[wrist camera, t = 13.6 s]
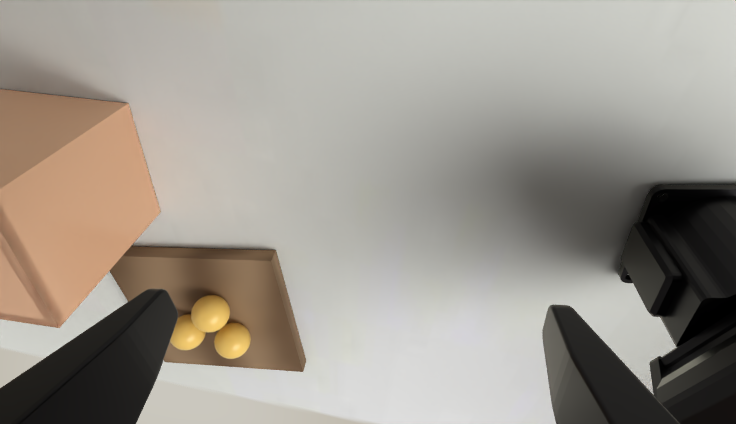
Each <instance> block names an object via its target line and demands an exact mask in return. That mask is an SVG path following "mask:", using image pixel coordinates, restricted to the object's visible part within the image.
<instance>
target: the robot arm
mask: <svg viewBox="0 0 736 424" xmlns="http://www.w3.org/2000/svg"><path fill="white" fill-rule="evenodd" d="M662 193H664V195H662V196H661V197H657V196H658V195H660V194H662ZM621 260H622V263H621V266H620V269H619V271H618V275H619V277H620V279H621V280H622V281H623V282H625V283H634V285H635V287H636V289H637V291H638V293H639V295H640V297H641V299H642V301H643V303H644V305H645V307H646V308H647V310H648V312H649V313H650V314H651V315H652V316H655V317H660V318H661V319H662V321H663V323H664V325H665V327H666V329H667V330H668V332H669V334H670V336H671V338H672V340H673V342H674V343H675V345H676V347H677V348H675V349H674V350H672V351H670V352H669V353H667V354H666V355H664V356H663V357H661V356H659V357H657V358H656V359H654V360H652V361H651V362H650V370H651V378H652V385H653V393H654V395H653V394H652V393H651V392H650V391H649V390H648V389H647V388H646V387H645V386H644V384H643V383H642V382H641V381H640V380H639V379H638V378H637V377H636V376H635V375H634V374H633V373H632V372H631V370H630V369H629V368H628V367H627V366H626V365H625V364H624V363H623V362H622V361H621V360H620V359H619V358H618V356H617V355H616V354H615V353H614V352H613V351H612V350H611V349H610V348H609V347H608V346H607V345H606V344H605V342H604V341H603V340H602V339H601V338H600V337H599V336H598V335H597V334H596V333H595V332H594V331H593V330H592V328H591V327H590V326H589V325H588V324H587V323H586V322H585V321H584V320H583V319H582V318H581V317H580V316H579V314H578V313H577V312H576V311H575V310H574V309H573V308H572V307H570V306H567V305H551V306H550V307H549V308H548V311H547V315H546V319H545V323H544V326H543V345H544V352H545V359H546V366H547V373H548V380H549V388H550V395H551V401H552V407H553V412H554V416H555V420H556V424H736V185H657V186H655V187H653V188H652V189H651V190H650V191H649V192H648V195H647V197H646V200H645V203H644V205H643V208H642V211H641V213H640V216H639V218H638V221H637V222H636V223H635V224H634V225H633V227H632V230H631V232H630V235H629V238H628V240H627V243H626V246H625V248H624V251H623V254H622V256H621ZM628 274H629V275H628ZM177 319H178V311H177V309H176V307H175V305H174V303H173V301H172V299H171V297H170V295H169V293H168V292H167V291H166V290H165V289H155V288H151V289H147V290H145V291H144V292H142V293H141V294H139V295H138V296H136V297H135V298H133V299H132V300H130V301H129V302H127V303H126V304H124V305H123V306H121V307H120V308H119V309H117V310H116V311H114V312H113V313H111V314H110V315H108V316H107V317H105V318H104V319H102V320H101V321H99V322H98V323H96V324H95V325H93V326H92V327H90V328H89V329H87V330H86V331H85V332H83V333H82V334H80V335H79V336H77V337H76V338H74V339H73V340H71V341H70V342H68V343H67V344H65V345H64V346H62V347H61V348H59V349H58V350H56V351H55V352H53V353H52V354H50V355H49V356H47V357H46V358H45V359H43V360H42V361H40V362H39V363H37V364H36V365H34V366H33V367H32V368H30V369H29V370H27V371H25V372H24V373H22V374H21V375H19V376H18V377H16V378H15V379H13V380H12V381H11V382H9V383H8V384H6V385H5V386H3V387H2V388H0V424H136V422H137V420H138V418H139V416H140V414H141V411H142V409H143V407H144V405H145V403H146V401H147V399H148V396H149V394H150V392H151V390H152V388H153V385H154V383H155V381H156V379H157V376H158V374H159V371H160V368H161V366H162V363H163V360H164V357H165V354H166V351H167V348H168V346H169V343H170V340H171V337H172V334H173V331H174V328H175V325H176V323H177Z"/></svg>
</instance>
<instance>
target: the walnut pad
mask: <svg viewBox="0 0 736 424" xmlns="http://www.w3.org/2000/svg"><path fill="white" fill-rule="evenodd" d="M110 272H111V274H112V276H113V277H114V279H115V280H116V282H117V284H118V285H119V287H120V289H121V290H122V292H123V294H124V295H125V297H126V299H127V300H128V302H129V301H130V300H132V299H133V298H135V297H136V296H138V295H139V294H141V293H142V292H144V291H145V290H147V289H151V288H155V289H165V290H166V291H167V292H168V293H169V295H170V297H171V299H172V301H173V303H174V305H175V307H176V309H177V311H178V318H179V317H180V316H183V315H188V314H191V311H192V308H193V306H194V304H195V303H196V302H197V301H198V300H199V299H200V298H202V297H204V296H207V295H217V296H220V297H222V298H223V299H224V300H225V301H226V302H227V303H228V305H229V308H230V316H229V319H228V321H227V323H226V324H229V323H239V324H242V325H243V326H245V327H246V328H247V329H248V331H249V333H250V338H251V341H250V345H249V348H248V349H247V351H246V352H245V353H244V354H243V355H242V356H240V357H238V358H234V359H227V358H224V357H222V356H221V355H220V354H218V352H217V351H216V349H215V345H214V340H215V336H216V334H217V332H218V331H219V330H217V331H215V332H206V334H205V338H204V340H203V341H202V342H201V344H200V345H198V346H197V347H195V348H193V349H191V350H180V349H177V348H176V347H174V346H173V345H172V344H171V342H170V343H169V346H168V348H167V351H166V354H165V357H164V361H165V362H173V363H187V364H201V365H215V366H229V367H243V368H257V369H271V370H285V371H300V372H303V370H304V367H305V363H306V358H305V355H304V351H303V347H302V344H301V340H300V336H299V333H298V329H297V326H296V322H295V318H294V315H293V311H292V307H291V304H290V300H289V296H288V293H287V289H286V285H285V282H284V278H283V275H282V271H281V267H280V264H279V260H278V256H277V253H276V250H244V249H207V248H170V247H133V246H131V247H130V248H129V249H128V250H127V251H126V252H125V253H124V255H123V256H122V257H121V258H120V259H119V260H118V261H117V263H116V264H115V265H114V266H113V267H112V268H111V269H110ZM226 324H225V325H226Z"/></svg>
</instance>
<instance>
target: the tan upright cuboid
mask: <svg viewBox="0 0 736 424" xmlns="http://www.w3.org/2000/svg"><path fill="white" fill-rule="evenodd" d="M160 212H161V211H160V208H159V205H158V201H157V198H156V194H155V191H154V188H153V184H152V181H151V178H150V174H149V171H148V168H147V164H146V161H145V158H144V154H143V151H142V148H141V144H140V141H139V137H138V134H137V131H136V127H135V124H134V121H133V117H132V114H131V111H130V107H129V104H128V103H119V102H111V101H102V100H93V99H84V98H75V97H66V96H57V95H48V94H40V93H31V92H22V91H13V90H4V89H0V319H3V320H10V321H16V322H23V323H30V324H36V325H43V326H50V327H56V328H60V327H61V325H62V324H63V323H64V322H65V321H66V320H67V319H68V317H69V316H70V315H71V314H72V313H73V312H74V311H75V309H76V308H77V307H78V306H79V305H80V304H81V303H82V301H83V300H84V299H85V298H86V297H87V296H88V295H89V293H90V292H91V291H92V290H93V289H94V288H95V287H96V285H97V284H98V283H99V282H100V281H101V280H102V279H103V277H104V276H105V275H106V274H107V273H108V272H109V271H110V269H111V268H112V267H113V266H114V265H115V264H116V263H117V261H118V260H119V259H120V258H121V257H122V256H123V255H124V253H125V252H126V251H127V250H128V249H129V248H130V247H131V245H132V244H133V243H134V242H135V241H136V240H137V239H138V237H139V236H140V235H141V234H142V233H143V232H144V231H145V229H146V228H147V227H148V226H149V225H150V224H151V223H152V221H153V220H154V219H155V218H156V217H157V216H158V215H159V213H160Z"/></svg>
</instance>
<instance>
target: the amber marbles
mask: <svg viewBox="0 0 736 424" xmlns="http://www.w3.org/2000/svg"><path fill="white" fill-rule="evenodd" d="M229 316H230V308H229V305H228V303H227V302H226V301H225V300H224V299H223V298H222V297H220V296H217V295H207V296H204V297H202V298H200V299H199V300H198V301H197V302H196V303H195V304H194V306H193V308H192V311H191V314H188V315H183V316H180V317H179V318H178V319H177V323H176V325H175V328H174V331H173V334H172V337H171V340H170V342H171V344H172V345H173V346H174V347H176V348H177V349H180V350H191V349H193V348H195V347H197V346H198V345H200V344H201V342H202V341H203V340H204V338H205V334H206V332H215V331H217V330H219V331H218V332H217V334H216V336H215V340H214V345H215V349H216V351H217V352H218V354H220V355H221V356H222V357H224V358H227V359H234V358H238V357H240V356H242V355H243V354H244V353H245V352H246V351H247V349H248V348H249V345H250V341H251V338H250V333H249V331H248V329H247V328H246V327H245V326H243V325H242V324H239V323H229V324H226V323H227V321H228V319H229ZM225 324H226V325H225Z"/></svg>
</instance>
